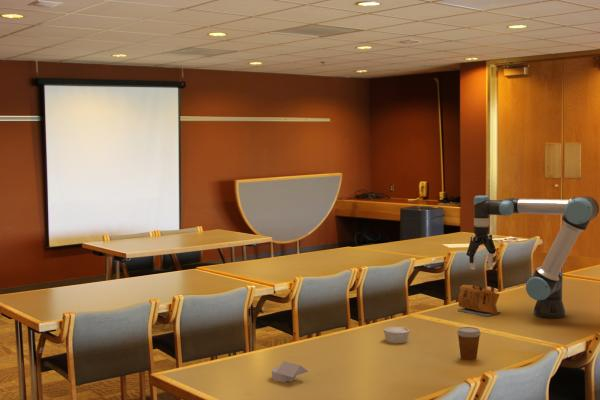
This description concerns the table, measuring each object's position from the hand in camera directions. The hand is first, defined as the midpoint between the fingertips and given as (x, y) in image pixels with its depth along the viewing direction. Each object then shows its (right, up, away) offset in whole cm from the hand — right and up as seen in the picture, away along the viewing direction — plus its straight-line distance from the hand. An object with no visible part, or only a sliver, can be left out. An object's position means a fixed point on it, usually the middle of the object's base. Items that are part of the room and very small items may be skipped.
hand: (481, 267), depth 393 cm
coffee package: (-6, -16, +12) cm, 21 cm away
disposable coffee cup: (-24, -30, -78) cm, 87 cm away
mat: (-1, -23, +3) cm, 23 cm away
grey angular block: (-97, -33, -102) cm, 145 cm away
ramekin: (-49, -28, -50) cm, 76 cm away
